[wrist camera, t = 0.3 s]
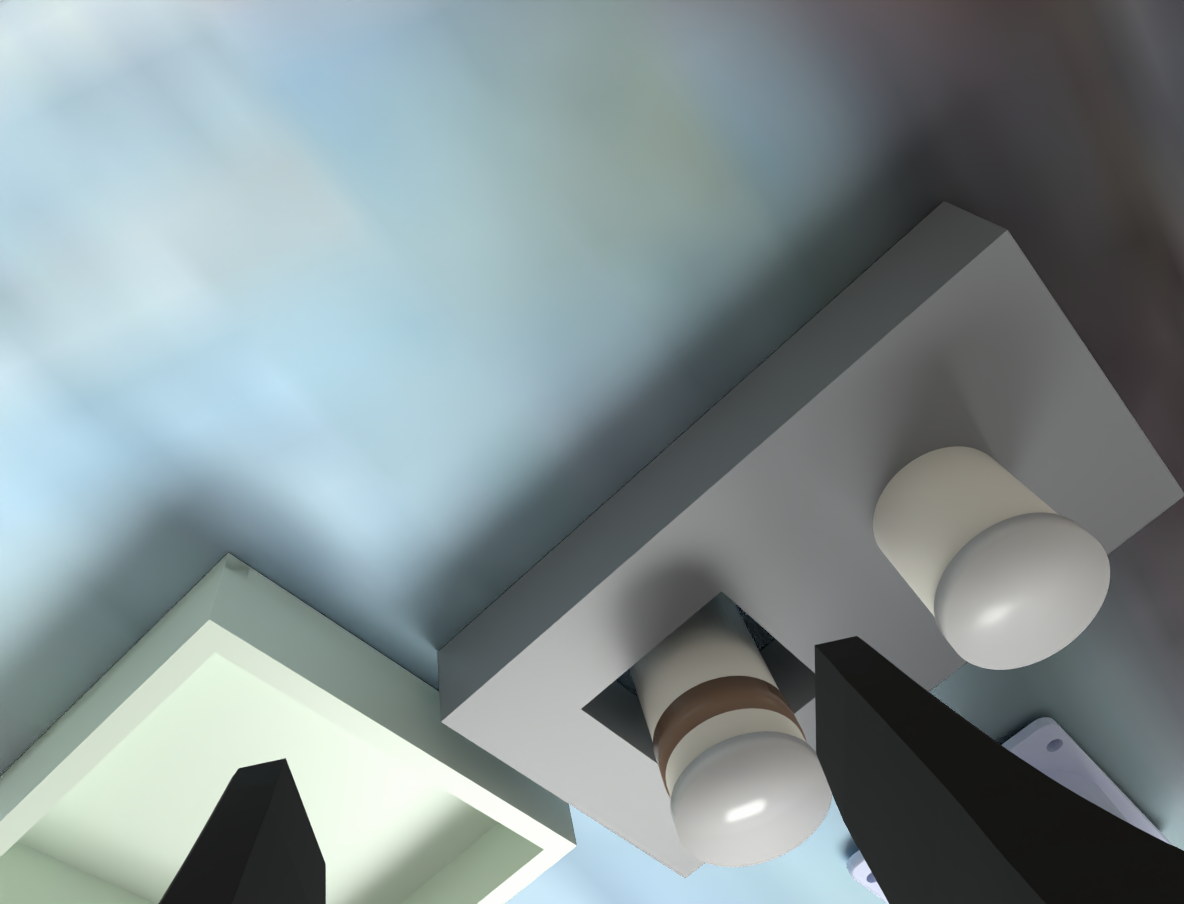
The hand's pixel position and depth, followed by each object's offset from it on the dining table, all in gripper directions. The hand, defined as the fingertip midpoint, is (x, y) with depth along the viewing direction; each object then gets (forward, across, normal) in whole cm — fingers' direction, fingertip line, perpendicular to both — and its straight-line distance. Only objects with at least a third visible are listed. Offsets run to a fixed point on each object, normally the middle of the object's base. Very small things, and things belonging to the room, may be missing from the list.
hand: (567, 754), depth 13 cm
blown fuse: (+10, -4, +7) cm, 13 cm away
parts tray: (+10, +8, +9) cm, 16 cm away
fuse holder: (+10, -6, +5) cm, 13 cm away
